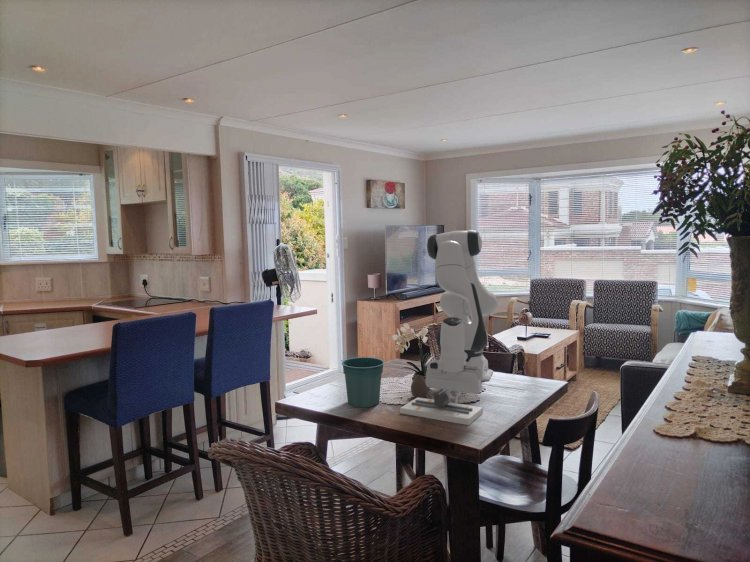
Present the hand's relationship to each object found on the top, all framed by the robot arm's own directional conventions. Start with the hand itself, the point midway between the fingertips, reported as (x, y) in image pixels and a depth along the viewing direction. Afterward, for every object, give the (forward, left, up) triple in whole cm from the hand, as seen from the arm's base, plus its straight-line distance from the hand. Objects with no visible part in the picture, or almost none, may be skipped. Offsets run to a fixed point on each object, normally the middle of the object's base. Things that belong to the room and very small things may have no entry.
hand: (453, 402), depth 191 cm
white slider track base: (0, -4, -4) cm, 6 cm away
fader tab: (0, -4, -2) cm, 5 cm away
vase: (-13, -19, -5) cm, 24 cm away
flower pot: (+3, -35, -5) cm, 36 cm away
